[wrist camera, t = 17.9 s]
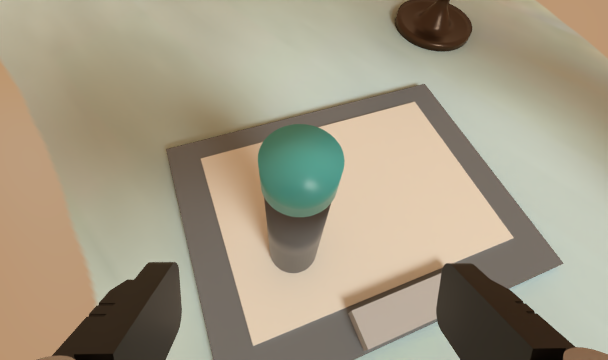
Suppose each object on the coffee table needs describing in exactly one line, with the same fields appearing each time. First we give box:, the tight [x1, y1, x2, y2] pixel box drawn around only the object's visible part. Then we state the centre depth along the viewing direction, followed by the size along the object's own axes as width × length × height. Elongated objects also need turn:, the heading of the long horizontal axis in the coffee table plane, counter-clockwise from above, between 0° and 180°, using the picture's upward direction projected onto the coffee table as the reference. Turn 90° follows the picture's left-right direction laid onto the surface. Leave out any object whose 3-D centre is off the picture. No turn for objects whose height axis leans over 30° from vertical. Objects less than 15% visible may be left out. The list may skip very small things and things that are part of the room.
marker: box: [258, 124, 345, 273], centre depth 19 cm, size 4×4×12 cm
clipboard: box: [166, 84, 563, 360], centre depth 26 cm, size 26×20×2 cm
